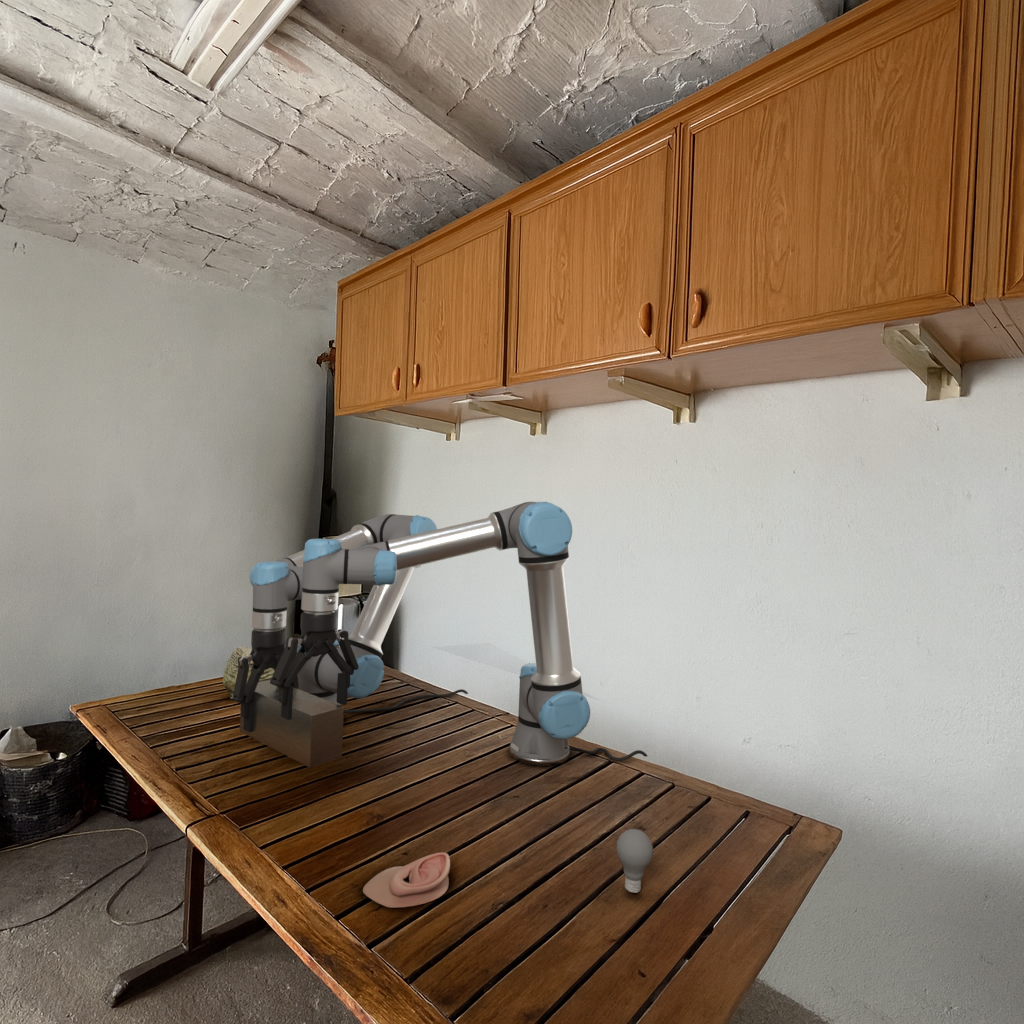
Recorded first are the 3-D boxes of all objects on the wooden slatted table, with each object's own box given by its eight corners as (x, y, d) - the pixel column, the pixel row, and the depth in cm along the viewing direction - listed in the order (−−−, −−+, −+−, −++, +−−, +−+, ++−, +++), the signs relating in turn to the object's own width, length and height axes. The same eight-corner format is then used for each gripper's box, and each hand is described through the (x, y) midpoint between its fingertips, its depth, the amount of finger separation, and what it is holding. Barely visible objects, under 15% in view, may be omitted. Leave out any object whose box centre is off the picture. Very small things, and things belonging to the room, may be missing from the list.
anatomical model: (355, 876, 100) (384, 838, 111) (354, 901, 100) (383, 861, 111) (435, 890, 97) (457, 850, 108) (434, 916, 97) (456, 873, 108)
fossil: (218, 695, 195) (220, 647, 195) (278, 685, 208) (279, 640, 207) (228, 703, 189) (230, 653, 188) (289, 692, 201) (290, 645, 201)
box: (239, 731, 147) (241, 685, 147) (270, 723, 154) (272, 679, 153) (309, 767, 130) (311, 715, 129) (342, 756, 136) (343, 706, 136)
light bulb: (610, 879, 108) (613, 822, 108) (644, 879, 109) (647, 822, 109) (619, 902, 102) (622, 840, 102) (655, 901, 103) (658, 840, 103)
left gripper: (234, 637, 137) (230, 742, 137) (317, 625, 153) (313, 718, 153) (217, 632, 141) (213, 733, 142) (299, 620, 158) (296, 711, 158)
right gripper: (275, 620, 123) (270, 729, 123) (377, 608, 142) (372, 702, 143) (255, 615, 127) (250, 719, 128) (356, 603, 147) (352, 694, 147)
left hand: (265, 725), depth 148 cm, fingers closed on box, 8 cm apart
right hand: (315, 710), depth 135 cm, fingers open, 13 cm apart
